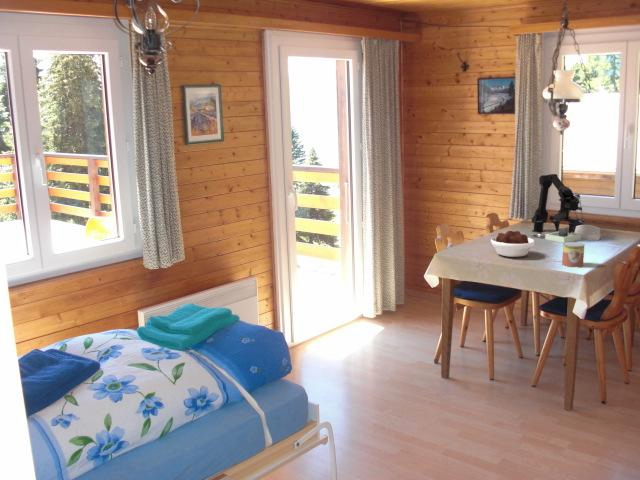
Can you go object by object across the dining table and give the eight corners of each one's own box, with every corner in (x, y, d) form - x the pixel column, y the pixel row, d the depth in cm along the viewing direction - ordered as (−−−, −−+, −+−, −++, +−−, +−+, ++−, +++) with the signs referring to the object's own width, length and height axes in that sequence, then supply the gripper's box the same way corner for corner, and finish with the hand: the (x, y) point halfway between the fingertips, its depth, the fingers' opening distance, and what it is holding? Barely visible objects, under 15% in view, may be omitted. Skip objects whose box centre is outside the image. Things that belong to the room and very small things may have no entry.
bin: (562, 236, 480) (562, 230, 479) (580, 240, 469) (581, 233, 468) (545, 240, 469) (545, 234, 468) (563, 243, 458) (564, 237, 457)
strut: (558, 238, 469) (559, 226, 468) (562, 237, 472) (562, 225, 470) (563, 239, 466) (564, 227, 464) (567, 238, 468) (568, 226, 467)
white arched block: (572, 237, 476) (574, 223, 476) (573, 239, 480) (575, 224, 480) (599, 240, 467) (601, 225, 468) (600, 241, 471) (602, 226, 472)
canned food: (563, 267, 398) (564, 245, 396) (560, 262, 409) (561, 241, 407) (584, 267, 396) (586, 246, 394) (581, 263, 407) (582, 242, 405)
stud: (538, 234, 487) (539, 231, 486) (550, 236, 479) (550, 233, 479) (530, 236, 481) (530, 233, 481) (541, 238, 474) (541, 235, 474)
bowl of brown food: (501, 249, 444) (502, 225, 441) (540, 254, 429) (542, 229, 426) (482, 256, 425) (483, 231, 422) (523, 262, 410) (524, 236, 407)
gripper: (544, 208, 467) (543, 231, 471) (569, 211, 453) (568, 236, 456) (555, 206, 474) (554, 229, 477) (580, 209, 459) (578, 234, 462)
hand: (563, 232), depth 468 cm, fingers open, 9 cm apart
